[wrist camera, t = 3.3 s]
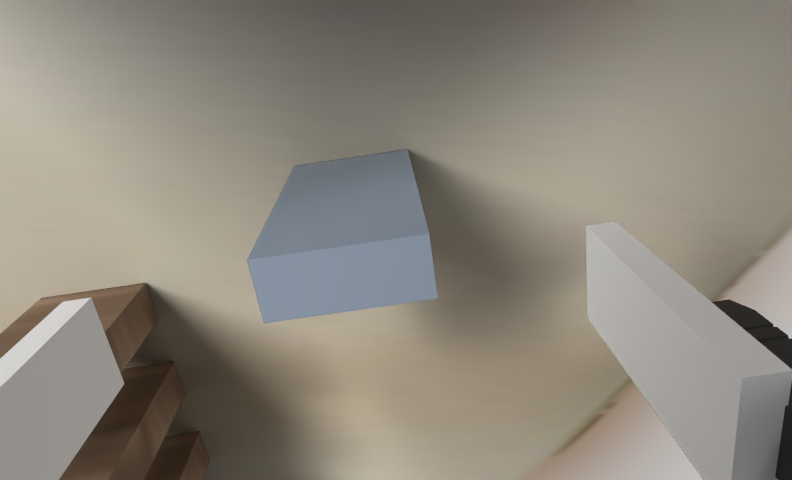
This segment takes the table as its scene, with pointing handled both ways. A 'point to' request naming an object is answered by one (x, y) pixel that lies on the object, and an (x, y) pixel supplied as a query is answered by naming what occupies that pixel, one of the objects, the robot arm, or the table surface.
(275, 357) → the table surface
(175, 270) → the table surface
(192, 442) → the domino
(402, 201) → the domino
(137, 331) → the domino
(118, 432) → the domino
